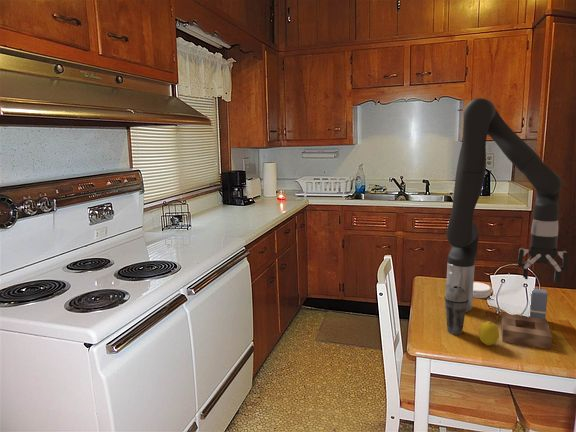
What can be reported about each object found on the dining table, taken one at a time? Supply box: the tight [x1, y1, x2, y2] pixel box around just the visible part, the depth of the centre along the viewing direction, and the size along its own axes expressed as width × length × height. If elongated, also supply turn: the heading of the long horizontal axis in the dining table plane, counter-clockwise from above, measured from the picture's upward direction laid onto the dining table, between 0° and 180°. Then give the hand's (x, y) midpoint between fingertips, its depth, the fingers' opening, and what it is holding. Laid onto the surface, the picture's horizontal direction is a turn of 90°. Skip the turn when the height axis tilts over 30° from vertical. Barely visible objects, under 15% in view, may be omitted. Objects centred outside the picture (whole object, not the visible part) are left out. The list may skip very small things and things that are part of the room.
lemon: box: [478, 320, 500, 347], centre depth 129 cm, size 6×6×8 cm
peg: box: [528, 288, 549, 319], centre depth 143 cm, size 4×4×11 cm
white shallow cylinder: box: [473, 281, 492, 299], centre depth 170 cm, size 10×10×4 cm
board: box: [500, 312, 553, 350], centre depth 134 cm, size 13×13×4 cm
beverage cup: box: [444, 273, 468, 336], centre depth 137 cm, size 7×7×20 cm
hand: (540, 280), depth 141 cm, fingers open, 8 cm apart
